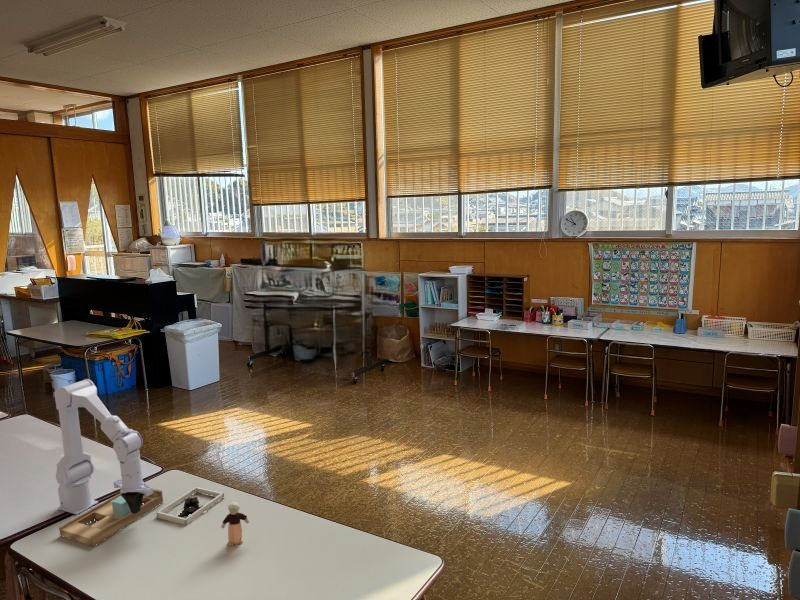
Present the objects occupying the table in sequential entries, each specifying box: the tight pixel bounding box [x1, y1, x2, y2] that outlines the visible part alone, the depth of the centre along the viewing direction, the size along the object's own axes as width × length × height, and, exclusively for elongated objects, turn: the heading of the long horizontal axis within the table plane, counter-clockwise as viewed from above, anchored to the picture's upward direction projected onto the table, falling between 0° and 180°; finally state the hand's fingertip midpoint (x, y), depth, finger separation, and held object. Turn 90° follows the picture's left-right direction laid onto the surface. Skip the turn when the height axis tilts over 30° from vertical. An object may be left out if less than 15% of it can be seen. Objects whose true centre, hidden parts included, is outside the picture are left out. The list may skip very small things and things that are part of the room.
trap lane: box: [58, 488, 164, 547], centre depth 174 cm, size 15×26×4 cm, turn 157°
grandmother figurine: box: [220, 501, 250, 547], centre depth 159 cm, size 8×4×13 cm, turn 118°
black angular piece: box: [178, 496, 201, 518], centre depth 178 cm, size 12×7×5 cm, turn 104°
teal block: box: [112, 496, 131, 517], centre depth 174 cm, size 4×4×4 cm
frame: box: [155, 486, 225, 526], centre depth 180 cm, size 12×17×2 cm
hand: (136, 512), depth 171 cm, fingers closed
